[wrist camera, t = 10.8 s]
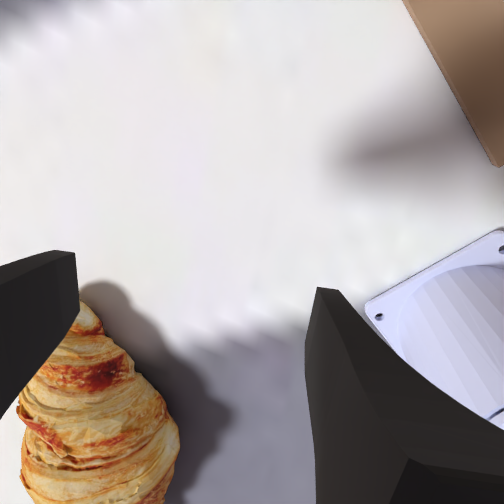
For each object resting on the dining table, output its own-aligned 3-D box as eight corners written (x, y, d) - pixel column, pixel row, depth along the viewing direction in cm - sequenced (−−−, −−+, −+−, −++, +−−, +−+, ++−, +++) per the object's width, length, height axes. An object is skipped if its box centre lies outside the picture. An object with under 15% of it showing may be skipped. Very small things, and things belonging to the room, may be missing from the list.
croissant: (59, 261, 27) (-78, 322, 21) (163, 287, 21) (20, 380, 15) (131, 472, 35) (48, 560, 29) (219, 530, 30) (140, 651, 24)
